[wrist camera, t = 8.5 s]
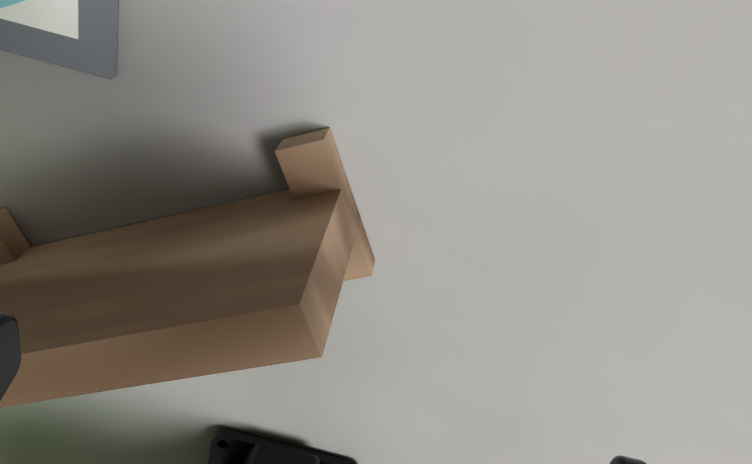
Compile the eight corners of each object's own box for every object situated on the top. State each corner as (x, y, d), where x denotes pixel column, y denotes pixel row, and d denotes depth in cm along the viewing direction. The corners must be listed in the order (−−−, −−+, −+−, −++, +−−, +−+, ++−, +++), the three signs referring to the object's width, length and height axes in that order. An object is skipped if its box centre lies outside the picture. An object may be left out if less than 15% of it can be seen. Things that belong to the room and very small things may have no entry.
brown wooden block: (374, 259, 22) (343, 407, 16) (41, 323, 26) (-88, 465, 19) (329, 127, 20) (272, 242, 14) (-30, 216, 23) (-202, 339, 17)
